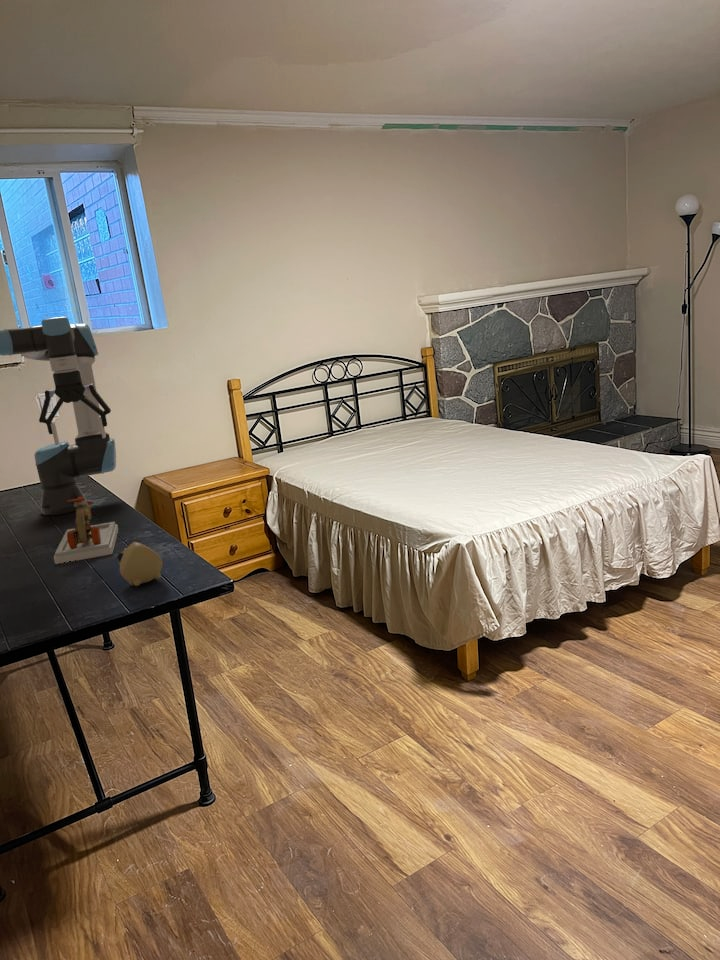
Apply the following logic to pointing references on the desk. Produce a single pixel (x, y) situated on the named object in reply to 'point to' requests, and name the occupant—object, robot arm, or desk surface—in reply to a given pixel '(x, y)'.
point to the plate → (88, 545)
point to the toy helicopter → (82, 524)
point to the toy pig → (139, 564)
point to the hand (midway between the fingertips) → (81, 440)
